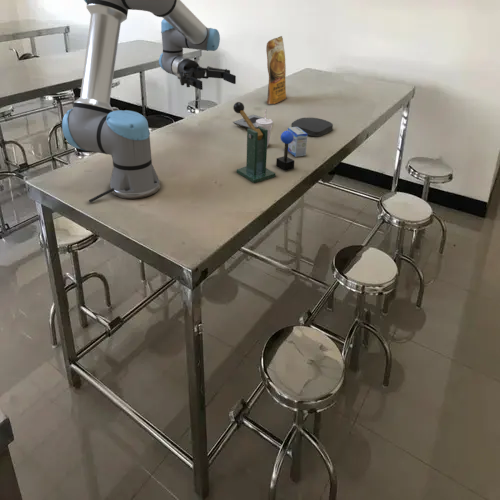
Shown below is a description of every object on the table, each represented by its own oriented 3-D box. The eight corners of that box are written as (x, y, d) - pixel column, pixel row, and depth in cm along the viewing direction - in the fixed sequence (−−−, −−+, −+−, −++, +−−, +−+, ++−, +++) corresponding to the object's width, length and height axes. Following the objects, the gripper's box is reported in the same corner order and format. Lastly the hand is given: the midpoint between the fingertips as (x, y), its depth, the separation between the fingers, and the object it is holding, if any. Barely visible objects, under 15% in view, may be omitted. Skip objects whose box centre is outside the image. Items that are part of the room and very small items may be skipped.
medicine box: (285, 149, 183) (287, 127, 178) (296, 148, 185) (297, 126, 180) (295, 157, 177) (297, 134, 172) (306, 155, 179) (308, 133, 174)
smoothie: (275, 145, 186) (277, 109, 178) (263, 150, 182) (265, 113, 174) (262, 141, 190) (264, 105, 182) (251, 145, 186) (252, 109, 178)
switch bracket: (236, 172, 165) (237, 127, 156) (257, 166, 170) (259, 122, 161) (254, 183, 159) (255, 136, 150) (275, 176, 163) (278, 131, 154)
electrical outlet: (252, 119, 211) (253, 113, 210) (272, 124, 206) (272, 119, 204) (233, 126, 202) (233, 121, 201) (252, 133, 197) (252, 127, 196)
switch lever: (230, 108, 161) (233, 100, 158) (238, 106, 163) (242, 98, 160) (253, 142, 156) (256, 135, 154) (262, 140, 158) (265, 133, 155)
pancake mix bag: (259, 103, 230) (261, 40, 214) (278, 94, 243) (282, 34, 228) (271, 106, 227) (274, 42, 211) (290, 96, 240) (294, 36, 225)
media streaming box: (317, 138, 193) (318, 131, 192) (287, 130, 201) (287, 123, 199) (335, 129, 203) (336, 122, 202) (306, 121, 210) (306, 114, 209)
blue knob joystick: (284, 171, 167) (287, 134, 159) (275, 166, 170) (277, 130, 163) (294, 168, 169) (297, 131, 162) (285, 163, 172) (287, 127, 165)
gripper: (215, 75, 187) (247, 88, 173) (157, 84, 175) (187, 99, 161) (214, 54, 183) (248, 66, 169) (155, 62, 170) (186, 76, 156)
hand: (218, 82), depth 165 cm, fingers open, 13 cm apart
